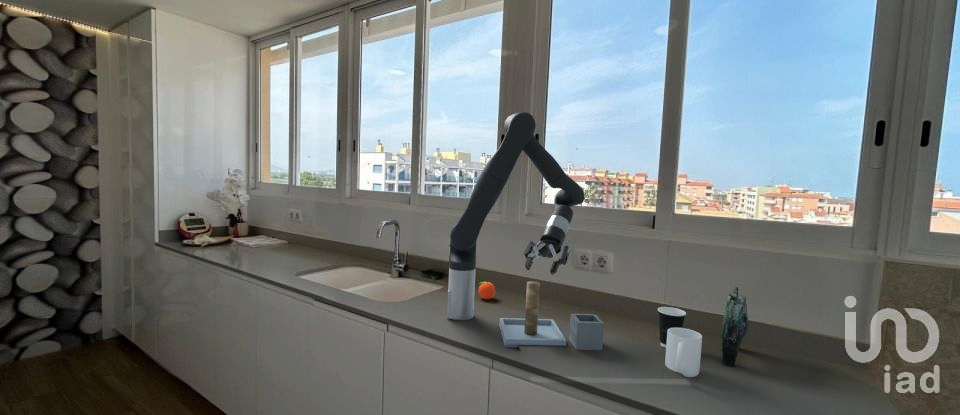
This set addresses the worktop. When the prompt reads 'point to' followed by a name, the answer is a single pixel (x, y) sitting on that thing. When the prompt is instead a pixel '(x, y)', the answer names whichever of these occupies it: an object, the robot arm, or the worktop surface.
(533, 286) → the pin
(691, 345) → the mug
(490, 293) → the clementine
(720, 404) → the worktop surface
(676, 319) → the dixie cup
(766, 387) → the worktop surface
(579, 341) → the light blue hollow box
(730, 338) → the dark green tall piece
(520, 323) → the tray
